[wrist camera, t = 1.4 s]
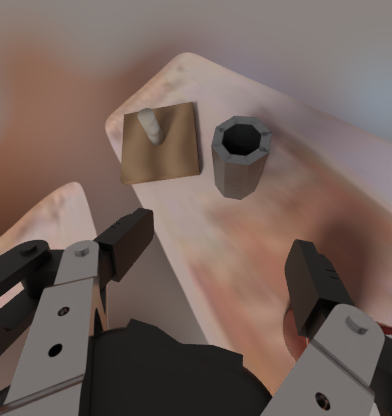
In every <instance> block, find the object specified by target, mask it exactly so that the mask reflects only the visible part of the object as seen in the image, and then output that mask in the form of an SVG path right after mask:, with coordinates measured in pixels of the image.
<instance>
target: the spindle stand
mask: <svg viewBox="0 0 392 416" xmlns="http://www.w3.org/2000/svg"><path fill="white" fill-rule="evenodd" d="M194 175H200V169H199V158H198V148H197V138H196V128H195V118H194V108H193V103H192V102H189V103H184V104H178V105H173V106H168V107H162V108H157V109H149V108H145V109H143V110H141V111H140V112H135V113H130V114H125V115H124V127H123V145H122V163H121V182H122V183H123V184H124V185H130V184H137V183H144V182H151V181H159V180H166V179H173V178H180V177H187V176H194Z"/></svg>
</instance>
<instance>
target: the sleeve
mask: <svg viewBox="0 0 392 416" xmlns="http://www.w3.org/2000/svg"><path fill="white" fill-rule="evenodd" d="M271 135H272V132H271V131H270V130H269V129H268V128H267V127H266V126H265V125H264V124H263V123H262V122H261V121H260V120H259V119H258V118H256V117H242V116H233V117H232V118H230V119H229V120H227V121H225V122H224V123H222V124H220V125H219V126H217V127H216V129H215V133H214V137H213V141H212V146H211V147H212V157H213V166H214V176H215V185H216V187H217V188H218V189H219V191H220V192H221V193H222V195H223V196H224V197H227V198H233V199H239V200H241V199H243V198H244V197H246V196H247V195H249V194H251V193H252V192H254V191H255V188H256V185H257V183H258V180H259V178H260V175H261V172H262V170H263V167H264V164H265V162H266V159H267V157H268V154H269V149H270V142H271Z"/></svg>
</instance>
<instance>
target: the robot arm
mask: <svg viewBox="0 0 392 416" xmlns="http://www.w3.org/2000/svg"><path fill="white" fill-rule="evenodd" d="M153 235H154V219H153V211H152V210H149V209H144V208H138V209H137V210H136V211H135V212H134V213H132V214H129V215H126V216H124V217H122V218H120V219H119V220H118V221H117V222H116V223H114V224H113V225H112V226H111V227H109V228H108V229H107V230H105V231H104V232H103V233H102V234H100V235H99V236H98V237H97V238H95V239H94V240H93V241H90V240H86V241H80V242H77V243H74V244H72V245H70V246H69V247H67V248H66V249H65V250H50V248H49V245H48V243H47V242H46V241H44V240H32V241H28V242H24V243H22V244H19V245H17V246H16V247H14V248H12V249H11V250H9V251H7V252H6V253H4V254H2V255H1V256H0V297H1V296H2V295H3V294H5V293H6V292H7V291H9V290H10V289H11V288H12V287H14V286H15V285H16V284H18V283H19V282H20V281H21V283H22V285H23V287H24V290H22V291H21V292H20V293H19V294H17V295H16V296H15V297H14V298H13V299H11V300H10V301H9V302H8V303H7V304H5V305H4V306H3V307H2V308H0V356H1V354H2V353H4V352H5V350H6V349H7V348H8V347H9V346H10V345H11V344H12V343H13V342H14V341H15V340H16V339H17V338H18V337H19V336H20V335H21V334H22V333H23V332H24V331H25V330H26V329H27V328H28V327H29V326H30V325H31V324H32V325H31V328H30V331H29V334H28V337H27V340H26V343H25V345H24V348H23V351H22V354H21V357H20V360H19V363H18V366H17V369H16V372H15V375H14V378H13V381H12V384H11V385H9V386H8V387H6V388H4V389H3V390H1V391H0V416H370V412H371V409H372V406H373V402H374V403H375V404H376V406H377V408H378V411H379V414H380V416H392V338H390V337H388V336H386V335H384V333H383V331H382V329H381V328H380V326H379V325H378V324H377V323H376V322H375V321H374V320H373V319H372V318H371V317H370V316H369V315H368V314H366V313H365V312H363V311H362V310H360V309H358V308H356V307H355V306H354V304H353V302H352V300H351V298H350V296H349V295H348V293H347V291H346V289H345V287H344V285H343V283H342V282H341V280H340V278H339V276H338V274H337V273H336V270H335V269H334V267H333V265H332V263H331V262H330V261H329V260H328V259H327V258H326V257H325V256H324V255H323V254H318V252H317V250H316V248H315V246H314V244H313V243H312V242H308V241H303V240H298V239H296V240H295V241H294V242H293V245H292V247H291V250H290V252H289V255H288V258H287V260H286V263H285V277H286V281H287V286H288V291H289V295H290V300H291V305H292V310H293V314H294V319H295V324H296V329H297V333H298V335H299V336H303V337H306V338H308V339H309V342H310V343H309V345H308V346H307V348H306V349H305V351H304V352H303V354H302V355H301V357H300V358H299V359H298V361H297V362H296V364H295V365H294V367H293V368H292V370H291V371H290V373H289V374H288V376H287V377H286V379H285V380H284V381H283V383H282V384H281V386H280V387H279V389H278V390H277V392H276V393H275V395H274V396H273V397H272V395H271V394H270V392H269V391H268V390H267V388H266V387H265V386H264V385H263V384H262V382H261V381H260V380H259V379H258V378H257V377H256V376H255V375H254V374H253V373H251V372H250V371H249V370H248V369H247V368H245V367H244V366H243V355H242V354H239V353H236V352H232V351H229V350H226V349H223V348H220V347H217V346H214V345H196V344H182V343H179V342H178V341H176V340H175V339H173V338H172V337H170V336H169V335H168V334H166V333H165V332H163V331H162V330H161V329H159V328H158V327H156V326H153V325H150V324H147V323H143V322H141V321H138V320H135V319H131V320H130V322H129V324H128V325H127V327H120V328H114V329H109V330H108V314H107V311H108V309H107V308H108V306H107V305H108V303H107V301H108V300H107V299H108V295H107V294H108V288H107V283H108V282H109V281H110V280H113V281H116V282H120V280H121V279H122V278H123V276H124V275H125V274H126V273H127V271H128V270H129V269H130V268H131V266H132V265H133V263H134V262H135V261H136V260H137V259H138V258H139V256H140V255H141V254H142V252H143V251H144V250H145V249H146V247H147V246H148V245H149V244H150V242H151V241H152V239H153Z"/></svg>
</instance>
